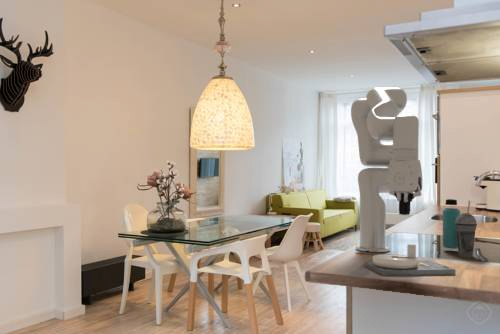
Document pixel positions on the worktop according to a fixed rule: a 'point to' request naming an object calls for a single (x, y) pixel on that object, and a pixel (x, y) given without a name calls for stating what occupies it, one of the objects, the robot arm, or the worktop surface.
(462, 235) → the beverage cup
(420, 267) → the stand
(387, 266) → the dial
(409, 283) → the worktop surface
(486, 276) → the worktop surface
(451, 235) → the beverage bottle
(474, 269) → the worktop surface
